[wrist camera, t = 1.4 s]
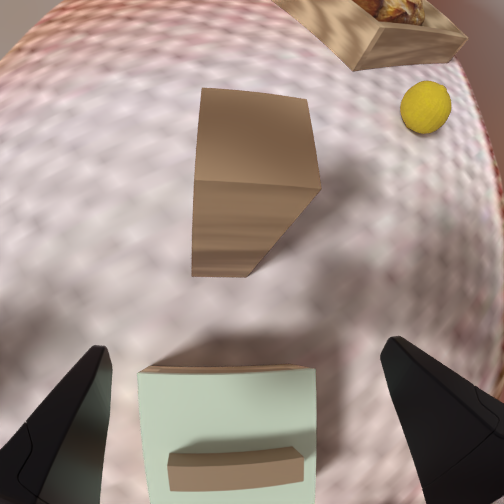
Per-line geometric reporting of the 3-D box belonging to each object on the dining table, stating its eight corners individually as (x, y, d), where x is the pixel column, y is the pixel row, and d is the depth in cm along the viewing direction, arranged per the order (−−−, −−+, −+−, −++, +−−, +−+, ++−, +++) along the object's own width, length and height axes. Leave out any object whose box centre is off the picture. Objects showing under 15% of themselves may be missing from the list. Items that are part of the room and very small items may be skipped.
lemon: (413, 151, 31) (454, 112, 23) (381, 116, 31) (416, 72, 24) (430, 136, 32) (468, 101, 25) (401, 104, 33) (434, 65, 25)
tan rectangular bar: (246, 277, 23) (321, 188, 10) (191, 276, 22) (194, 180, 9) (245, 226, 24) (306, 99, 11) (192, 224, 23) (201, 87, 10)
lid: (309, 515, 14) (325, 534, 12) (156, 526, 13) (153, 549, 10) (310, 367, 18) (330, 371, 15) (139, 371, 16) (130, 377, 13)
